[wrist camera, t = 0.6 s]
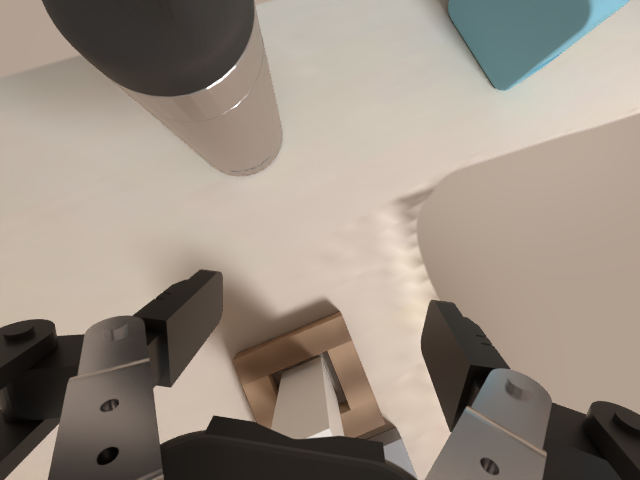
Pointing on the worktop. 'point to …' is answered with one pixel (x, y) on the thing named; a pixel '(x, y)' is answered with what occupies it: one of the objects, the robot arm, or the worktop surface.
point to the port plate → (395, 449)
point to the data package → (524, 32)
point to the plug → (307, 403)
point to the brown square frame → (297, 347)
